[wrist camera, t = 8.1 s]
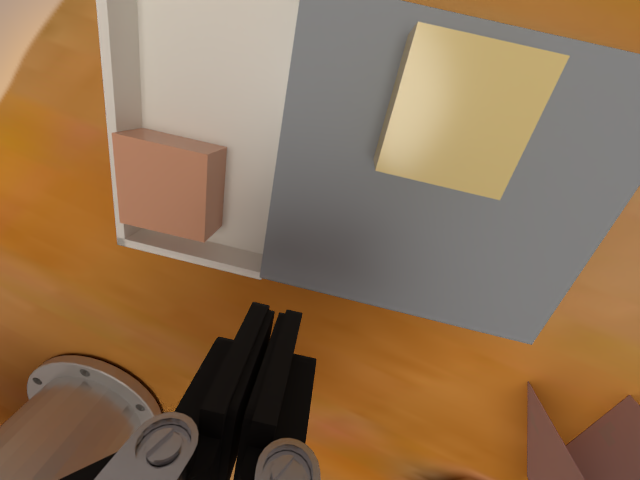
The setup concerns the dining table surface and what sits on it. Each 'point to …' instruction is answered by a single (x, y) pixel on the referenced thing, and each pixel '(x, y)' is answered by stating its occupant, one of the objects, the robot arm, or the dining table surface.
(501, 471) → the dining table surface
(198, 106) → the tray
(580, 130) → the slate board
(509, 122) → the tile mustard
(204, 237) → the salmon pink block
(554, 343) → the dining table surface
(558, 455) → the greeting card
